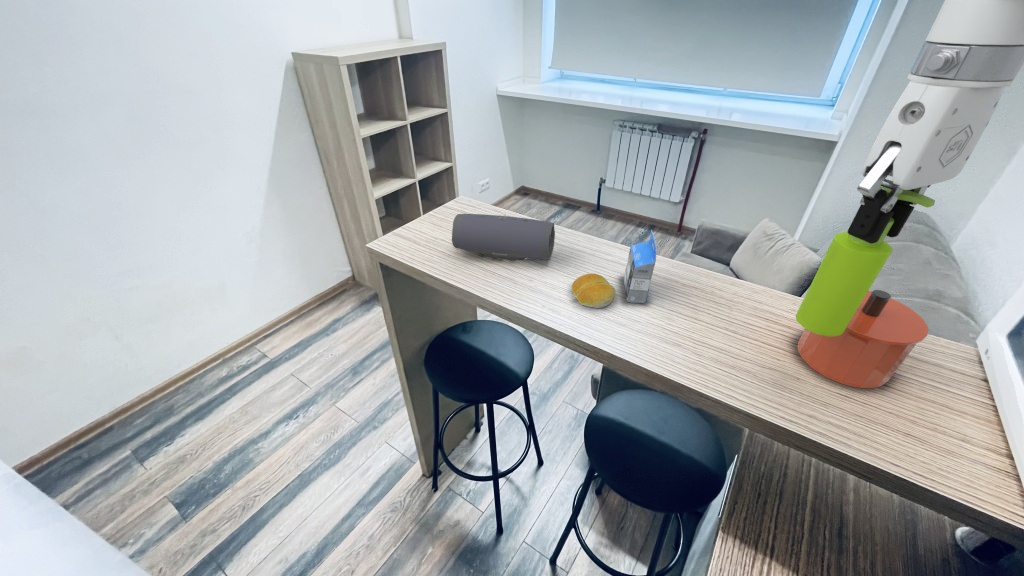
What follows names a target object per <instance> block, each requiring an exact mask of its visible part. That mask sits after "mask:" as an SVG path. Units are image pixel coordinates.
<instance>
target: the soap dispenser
mask: <svg viewBox="0 0 1024 576" xmlns="http://www.w3.org/2000/svg"><path fill="white" fill-rule="evenodd" d="M881 188H882V189H883V190H885V191H887V197H888V195H889V193H890V191H891V190H892V189H889V188H886V187H882V186H881ZM898 199H899V200H904V201H909V202H913V203H916V205H919V206H921V207H925V208H931V207H933V206H935V203H936V200H935V199H934V198H931V197H929V196H927V195H925V194H924V195H922V194H918V193H916V192H912V191H908V190H903V191H902V193H901V195H900V196H899V198H898ZM893 223H894V219H893V218H892V217H891V219H890V221H889V223H888V224H887V226H886V228H885V230H884V231H883V233H882V235H881V237H880V238H879V240H878V242H876V243H873V244H871V243H868V242H866V241H864V240H861V239H859V238H857V237H854V236H852V235H849V234H848V231H842V232H838V233H836V234H835V235H834V237H833V239H832V241H831V242H830V245H829V247H828V249H827V251H826V253H825V255H824V257H823V259H822V261H821V263H820V265H819V267H818V269H817V271H816V273H815V276H814V278H813V280H812V282H811V284H810V285H809V287H808V289H807V292H805V296H804V298H803V300H802V302H801V304H800V305H799V307H798V310H797V311H796V314H795V320H796V322H797V323H798V324H799V325H800V326H801V327H803V328H804V330H805V329H807V330H809V331H811V332H813V333H816V334H819V335H823V336H839V335H841V334H842V333H843V332H844V331H845V329H846V327H847V326H848V324H849V322H850V321H851V319H852V317H853V316H854V314H855V312H856V311H857V309H858V307H859V306H860V304H861V302H862V301H863V299H864V297H865V295H866V294H867V292H868V291H870V289H871V287H872V286H873V284H874V282H875V281H876V279H877V277H878V275H879V274H880V272H881V270H882V269H883V267H884V266H885V264H886V262H887V260H889V259H888V258H889V257H890V255H891V254H892V252H893V247H892V246H891V244H889V243H888V242H886V241H884V240H885V238H886V237H887V236H886V235H887V233H888V232H889V230H890V228H891V226H892V225H893Z"/></svg>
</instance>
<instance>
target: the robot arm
mask: <svg viewBox="0 0 1024 576" xmlns="http://www.w3.org/2000/svg"><path fill="white" fill-rule="evenodd" d="M936 15H937V16H936V18H935V20H934V22H933V24H932V25H931V27H930V30H929V32H928V34H927V35H926V38H925V41H924V42H923V45H922V46H921V48H920V51H919V53H918V55H917V57H916V59H915V61H914V63H913V65H912V67H911V69H910V71H909V73H908V75H907V77H906V79H907V80H908V81H909V82H908V84H906V87H905V88H904V90H903V91H902V92H901V95H900V97H899V98H898V100H897V101H896V103H895V104H894V106H893V108H892V110H891V111H890V113H889V115H888V116H887V118H886V120H885V121H884V123H883V125H882V127H881V129H880V131H879V133H878V134H877V136H876V138H875V140H874V143H873V144H872V146H871V148H870V150H869V152H868V154H867V157H866V158H865V161H864V163H863V166H862V168H861V174H862V177H863V180H862V181H861V182H860V183H859V184H858V186H857V188H856V191H858V192H859V193H860V194H861V195H862V197H861V199H860V201H859V204H860V206H859V207H858V209H857V212H856V213H855V215H854V217H853V219H852V221H851V223H850V225H849V227H848V229H847V232H848V234H849V235H852V236H854V237H857V238H859V239H861V240H864V241H866V242H868V243H871V244H873V243H876V242H878V240H879V238H880V237H881V235H882V233H883V231H884V230H885V228H886V226H887V224H888V223H889V221H890V219H891V217H892V218H893V219H894V223H893V225H892V226H891V228H890V230H889V232H888V233H887V235H886V237H889V238H896V237H898V236H899V235H900V233H901V232H902V229H903V228H904V226H905V224H906V222H907V221H908V220H909V218H910V216H911V215H912V213H913V211H914V209H915V206H917V204H916V203H913V202H909V201H904V200H899V199H898V198H899V196H900V195H901V193H902V191H903V190H908V191H912V192H916V193H918V194H922V195H925V193H926V191H927V189H928V188H930V187H931V186H932V185H935V184H939V183H943V182H946V181H950V180H952V179H955V178H956V177H957V176H958V175H960V173H961V172H962V170H963V169H964V167H965V166H966V164H967V162H968V161H969V159H970V157H971V155H972V153H973V152H974V151H975V148H976V146H977V145H978V143H979V141H980V139H981V137H982V136H983V133H984V132H985V131H986V128H987V126H988V125H989V122H990V121H991V119H992V117H993V115H994V113H995V111H996V109H997V107H998V105H999V103H1000V100H1001V98H1002V96H1003V93H1004V91H1005V88H1006V87H1008V88H1009V87H1010V86H1011V85H1012V83H1013V82H1014V80H1015V79H1016V77H1017V75H1018V73H1019V72H1020V70H1021V69H1022V67H1023V65H1024V0H944V1H943V3H942V5H941V7H940V9H939V11H938V13H937V14H936ZM888 176H889V177H892V180H890V179H887V177H888ZM881 187H886V188H889V189H892V190H891V191H890V193H889V195H888V197H887V191H885V190H883V189H882V188H881Z"/></svg>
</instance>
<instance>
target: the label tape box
mask: <svg viewBox="0 0 1024 576" xmlns="http://www.w3.org/2000/svg"><path fill="white" fill-rule="evenodd" d="M657 251H658V250H657V243H656V239H655V236H654V233H653V229H650V235H649V240H646V241H643V242H639V243H636V244H631V245H630V247H629V252H628V255H627V256H628V257H627V261H626V267H625V270H624V275H623V285H624V289H625V290H624V291H625V298H626V302H627V303H632V304H646V301H647V297H648V293H649V289H650V286H651V281H652V278H653V273H654V269H655V266H656V262H657Z"/></svg>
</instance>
